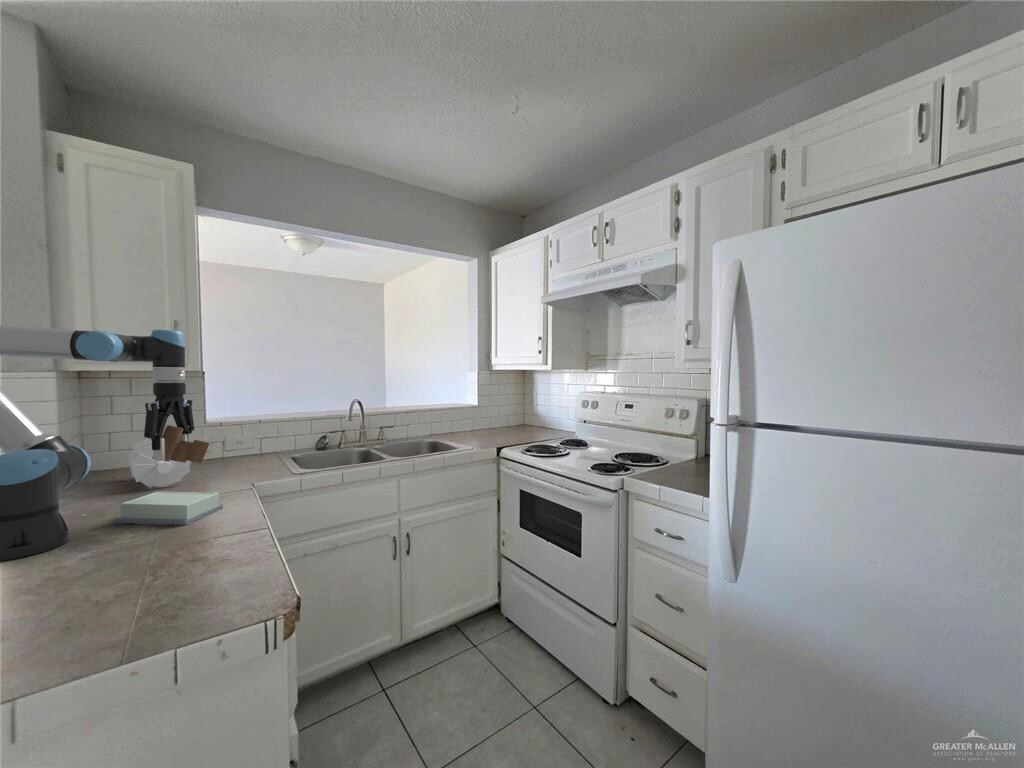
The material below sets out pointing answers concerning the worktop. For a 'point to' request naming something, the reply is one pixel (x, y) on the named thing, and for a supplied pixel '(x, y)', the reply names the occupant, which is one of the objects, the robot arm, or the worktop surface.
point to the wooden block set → (182, 447)
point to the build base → (169, 508)
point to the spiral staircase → (155, 467)
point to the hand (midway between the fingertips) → (171, 457)
